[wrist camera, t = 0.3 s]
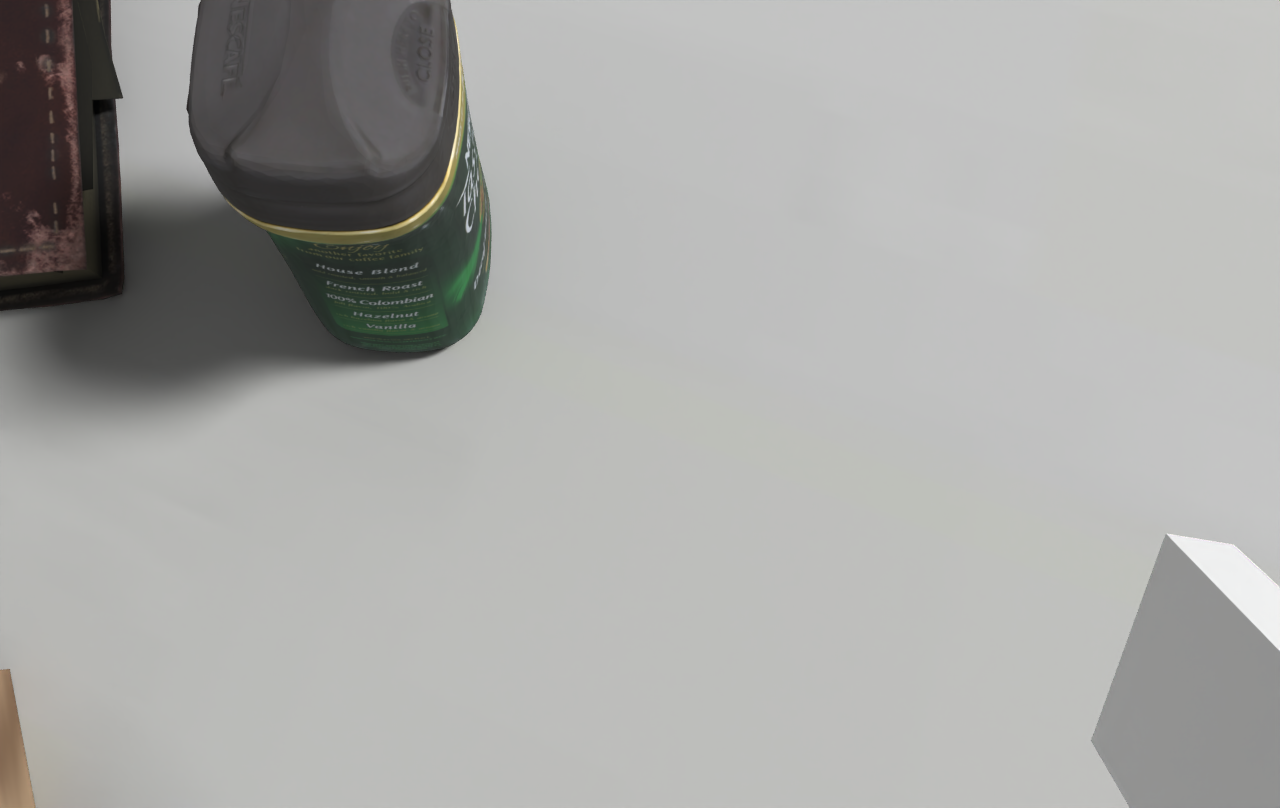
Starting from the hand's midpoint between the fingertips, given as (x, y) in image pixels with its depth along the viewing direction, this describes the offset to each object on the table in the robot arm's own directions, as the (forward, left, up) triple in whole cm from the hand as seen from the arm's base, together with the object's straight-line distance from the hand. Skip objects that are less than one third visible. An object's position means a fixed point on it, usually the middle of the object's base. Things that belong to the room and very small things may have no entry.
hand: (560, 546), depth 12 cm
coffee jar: (+17, +3, -35) cm, 39 cm away
